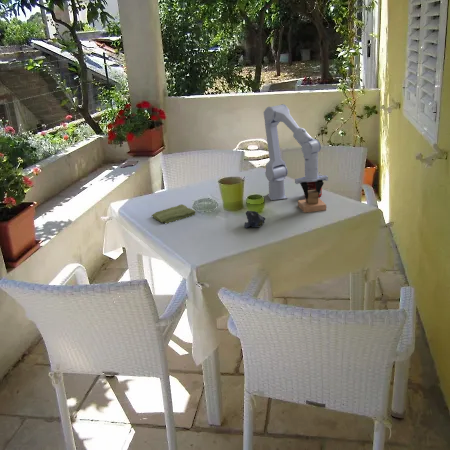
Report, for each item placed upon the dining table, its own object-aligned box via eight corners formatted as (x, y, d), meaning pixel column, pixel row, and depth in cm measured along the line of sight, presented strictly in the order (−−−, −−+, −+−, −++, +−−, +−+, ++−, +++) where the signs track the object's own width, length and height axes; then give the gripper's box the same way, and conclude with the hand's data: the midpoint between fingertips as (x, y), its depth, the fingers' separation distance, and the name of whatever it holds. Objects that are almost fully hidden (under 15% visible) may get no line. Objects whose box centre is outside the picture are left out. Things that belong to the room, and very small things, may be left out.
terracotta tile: (297, 205, 223) (297, 200, 222) (319, 203, 224) (318, 197, 223) (304, 212, 214) (304, 207, 213) (326, 209, 215) (326, 204, 214)
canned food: (321, 193, 238) (321, 171, 234) (322, 198, 230) (322, 175, 226) (305, 193, 239) (304, 172, 235) (306, 198, 231) (305, 176, 227)
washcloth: (150, 218, 223) (149, 211, 222) (184, 209, 232) (183, 202, 231) (162, 225, 213) (161, 219, 212) (197, 216, 221) (197, 209, 220)
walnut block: (305, 201, 220) (305, 190, 218) (315, 200, 220) (315, 189, 218) (308, 204, 216) (308, 193, 214) (318, 203, 216) (318, 192, 214)
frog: (252, 232, 197) (251, 216, 194) (238, 225, 206) (237, 209, 203) (270, 227, 201) (270, 211, 198) (256, 220, 210) (255, 204, 207)
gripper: (297, 171, 208) (298, 201, 213) (330, 168, 209) (330, 198, 214) (293, 167, 215) (294, 197, 219) (325, 164, 216) (325, 193, 221)
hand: (311, 197), depth 217 cm, fingers closed on walnut block, 4 cm apart
